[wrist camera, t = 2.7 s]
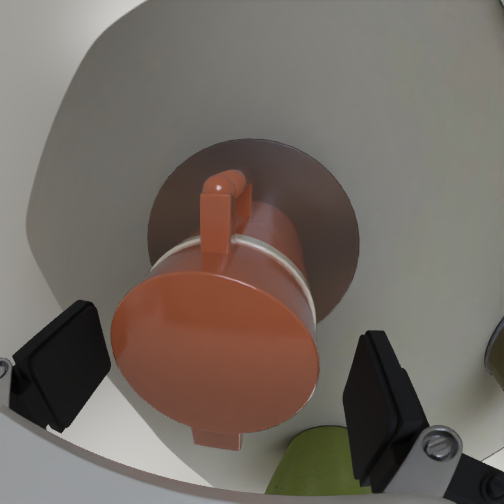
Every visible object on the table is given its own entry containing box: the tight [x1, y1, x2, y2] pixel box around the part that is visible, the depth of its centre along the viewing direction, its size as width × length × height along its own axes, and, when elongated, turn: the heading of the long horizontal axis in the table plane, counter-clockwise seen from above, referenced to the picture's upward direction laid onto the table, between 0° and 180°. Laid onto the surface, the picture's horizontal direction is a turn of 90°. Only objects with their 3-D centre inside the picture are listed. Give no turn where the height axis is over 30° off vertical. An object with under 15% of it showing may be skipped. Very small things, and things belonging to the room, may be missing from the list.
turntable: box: [148, 139, 359, 324], centre depth 19 cm, size 14×14×2 cm
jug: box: [111, 166, 320, 451], centre depth 13 cm, size 10×7×11 cm, turn 178°
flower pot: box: [265, 426, 374, 496], centre depth 19 cm, size 15×15×16 cm
